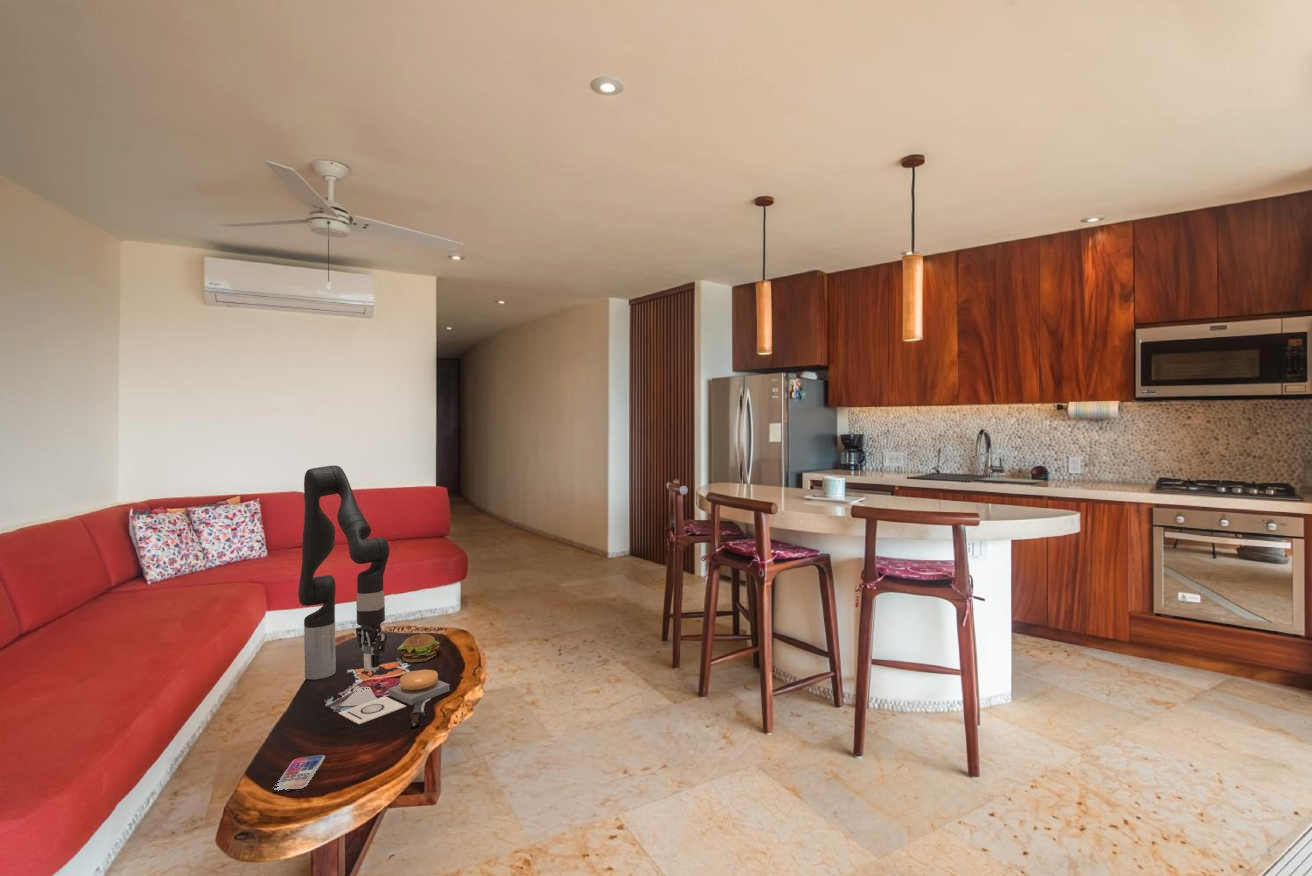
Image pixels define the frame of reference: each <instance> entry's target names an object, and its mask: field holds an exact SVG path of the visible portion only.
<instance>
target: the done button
mask: <svg viewBox="0 0 1312 876" xmlns="http://www.w3.org/2000/svg"><path fill="white" fill-rule="evenodd" d="M438 680H439V673H438V672H437V671H436V670H434V669H420V670H413V671H411V672H406V673H405V674H403V675H401V676H400V678H399V685H400V687H401V688H403V689H407V690H417V689H423V688H427V687H430V686H432V685H434V684H435V683H437V681H438Z"/></svg>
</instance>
